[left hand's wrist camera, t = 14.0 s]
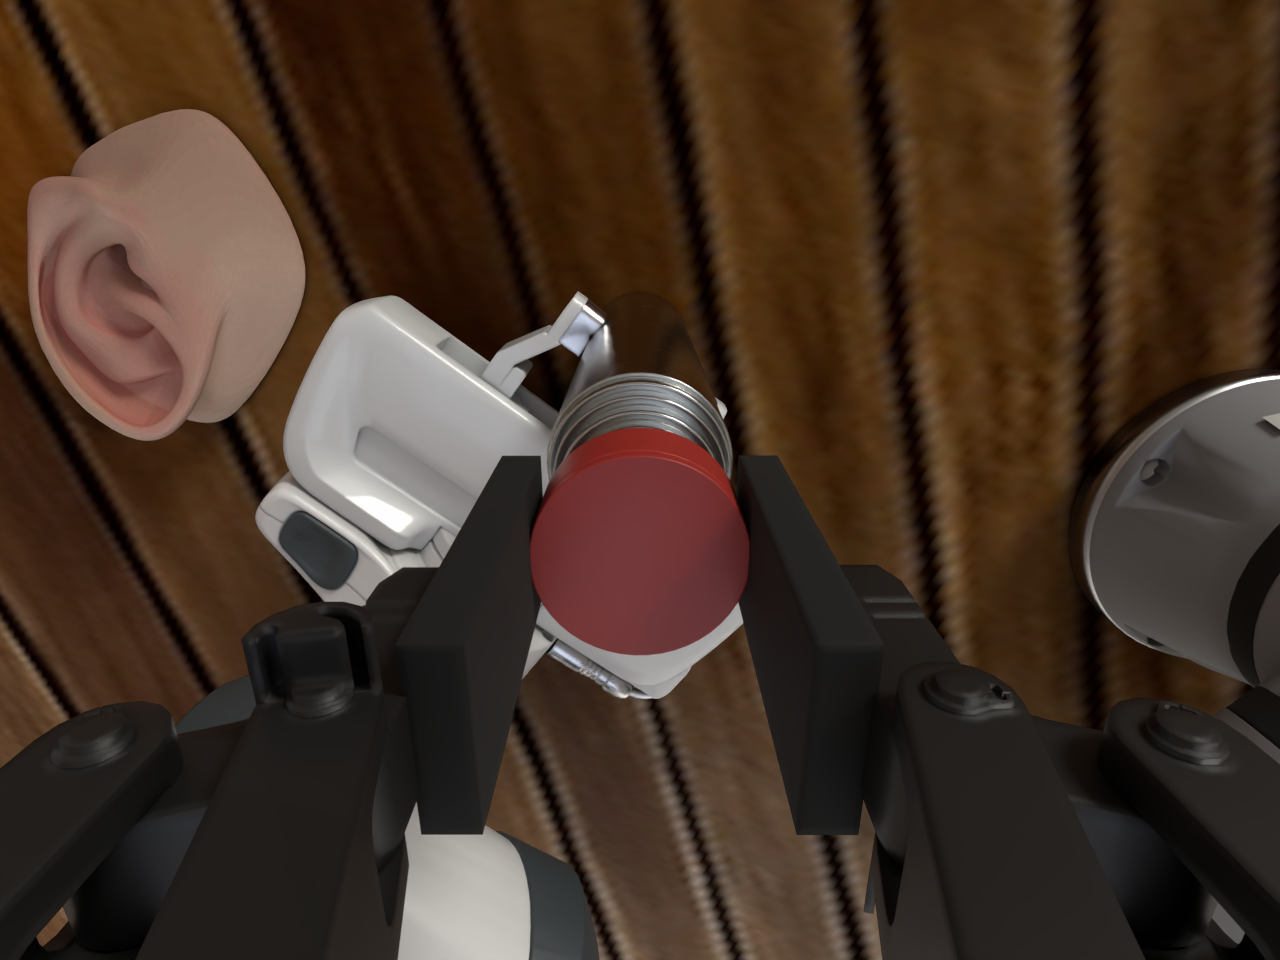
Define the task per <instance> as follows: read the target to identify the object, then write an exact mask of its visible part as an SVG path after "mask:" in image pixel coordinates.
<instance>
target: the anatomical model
mask: <svg viewBox="0 0 1280 960" xmlns="http://www.w3.org/2000/svg"><path fill="white" fill-rule="evenodd" d="M27 221H28V294H29V303H30V311H31V316H32V321H33V325H34V328H35V332H36V335H37V337H38V340H39V342H40V345H41V348H42V350H43V352H44V353H45V355H46V357H47V359H48V361H49V363H50V365H51V367H52V368H53V370H54V372H55V373H56V375H57V376H58V378H59V379H60V381H61V382H62V384H63V385H64V386H65V388H66V389H67V390H68V392H69V393H70V394H71V395H72V396H73V398H74V399H75V400H76V401H77V402H78V403H79V404H80V405H81V406H82V407H83V408H84V409H85V410H87V411H88V412H89V413H90V414H91V415H93V416H94V417H95V418H97V419H98V420H99V421H101V422H102V423H104V424H105V425H107V426H108V427H110V428H111V429H113V430H115V431H117V432H119V433H121V434H123V435H125V436H128V437H131V438H134V439H138V440H144V441H151V440H158V439H161V438H164V437H166V436H168V435H170V434H171V433H173V432H174V431H176V430H177V429H178V428H179V427H180V426H181V425H182V424H183V423H184V422H185V420H186V419H187V420H191V421H195V422H203V423H212V422H218V421H221V420H223V419H226V418H227V417H229V416H231V415H232V414H233V413H234V412H236V411H237V410H238V409H239V408H240V407H241V406H242V405H243V403H244V402H245V401H246V400H247V399H248V398H249V397H250V396H251V394H252V393H253V392H254V390H255V389H256V387H257V386H258V385H259V383H260V382H261V380H262V379H263V378H264V376H265V375H266V373H267V372H268V370H269V368H270V367H271V365H272V363H273V362H274V360H275V359H276V357H277V355H278V353H279V351H280V349H281V348H282V346H283V344H284V342H285V340H286V338H287V336H288V334H289V332H290V330H291V328H292V326H293V324H294V321H295V319H296V316H297V314H298V311H299V309H300V305H301V302H302V298H303V294H304V289H305V279H306V278H305V264H304V258H303V252H302V249H301V246H300V242H299V239H298V237H297V234H296V232H295V229H294V227H293V224H292V222H291V219H290V217H289V215H288V213H287V212H286V210H285V208H284V206H283V204H282V202H281V200H280V198H279V197H278V195H277V193H276V192H275V190H274V189H273V187H272V185H271V184H270V182H269V180H268V179H267V177H266V176H265V174H264V173H263V171H262V170H261V169H260V167H259V166H258V164H257V163H256V161H255V160H254V159H253V157H252V156H251V154H250V153H249V152H248V150H247V149H246V148H245V147H244V146H243V144H242V143H241V142H240V141H239V139H238V138H237V137H236V136H235V135H234V134H233V133H232V132H231V131H230V130H229V128H228V127H226V126H225V125H224V124H223V123H222V122H220V121H219V120H218V119H217V118H215V117H213V116H212V115H210V114H208V113H206V112H203V111H199V110H193V109H180V110H175V111H170V112H165V113H161V114H158V115H155V116H153V117H150V118H147V119H144V120H141V121H139V122H136V123H133V124H130V125H128V126H125V127H123V128H121V129H119V130H117V131H115V132H113V133H111V134H110V135H108V136H106V137H105V138H103V139H102V140H100V141H99V142H97V143H95V144H94V145H92V146H91V147H90V148H88V149H87V150H86V151H84V152H83V153H82V154H81V155H80V157H79V158H78V160H77V161H76V163H75V165H74V167H73V170H72V173H71V177H69V176H57V177H49V178H45V179H43V180H41V181H39V182H38V183H36V184H35V185H34V186H33V188H32V189H31V192H30V195H29V199H28V208H27Z"/></svg>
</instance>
